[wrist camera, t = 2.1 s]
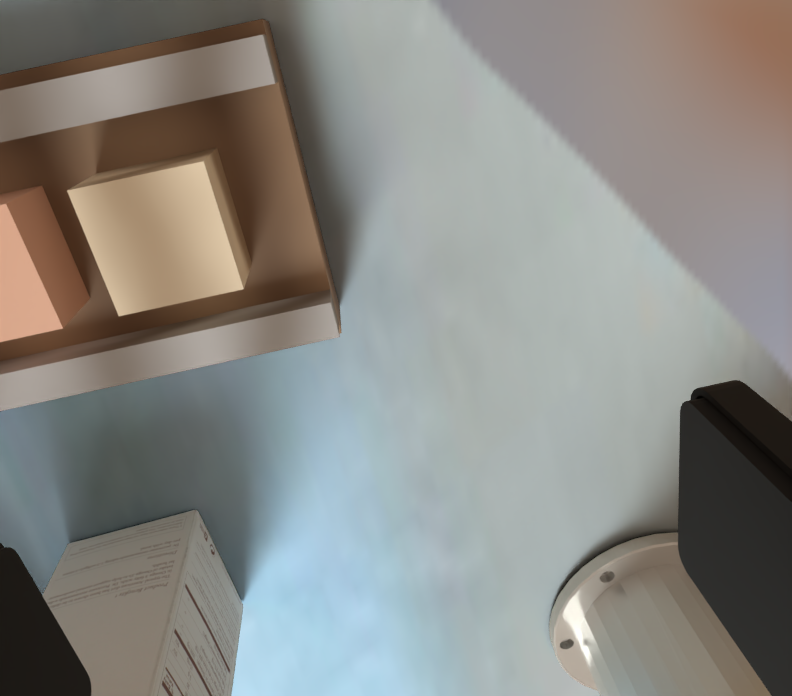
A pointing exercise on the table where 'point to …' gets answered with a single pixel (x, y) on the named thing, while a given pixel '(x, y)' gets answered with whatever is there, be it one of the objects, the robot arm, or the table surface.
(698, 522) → the robot arm
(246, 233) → the slot block
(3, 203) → the salmon orange block
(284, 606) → the table surface
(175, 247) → the beige block
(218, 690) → the supplement box
